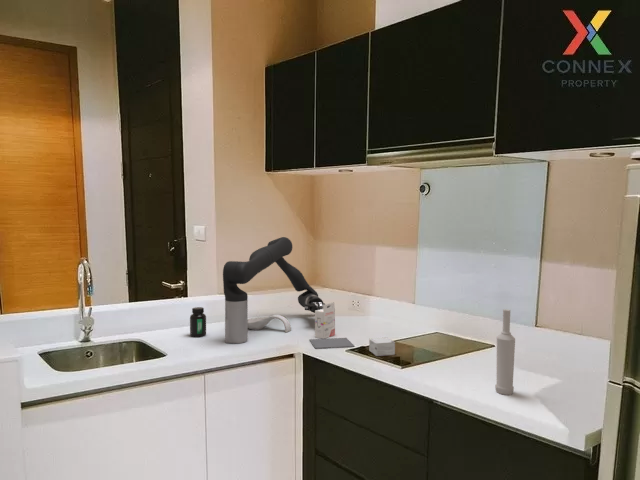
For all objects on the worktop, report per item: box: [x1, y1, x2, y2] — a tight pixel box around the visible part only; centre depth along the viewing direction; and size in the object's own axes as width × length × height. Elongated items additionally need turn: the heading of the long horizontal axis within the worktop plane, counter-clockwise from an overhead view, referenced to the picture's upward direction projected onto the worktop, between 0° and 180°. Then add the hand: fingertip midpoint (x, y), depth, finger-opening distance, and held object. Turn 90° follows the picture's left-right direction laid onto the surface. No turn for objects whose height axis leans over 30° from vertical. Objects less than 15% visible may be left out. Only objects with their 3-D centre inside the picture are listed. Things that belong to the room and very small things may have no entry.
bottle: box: [495, 308, 516, 396], centre depth 146 cm, size 5×5×25 cm
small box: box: [368, 336, 396, 357], centre depth 188 cm, size 8×8×5 cm
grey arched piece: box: [248, 314, 292, 333], centre depth 225 cm, size 24×12×7 cm, turn 68°
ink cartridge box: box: [314, 302, 336, 339], centre depth 212 cm, size 9×5×15 cm, turn 143°
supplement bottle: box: [189, 306, 207, 338], centre depth 212 cm, size 7×7×12 cm
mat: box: [308, 337, 356, 350], centre depth 200 cm, size 16×13×1 cm
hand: (321, 310), depth 219 cm, fingers closed
